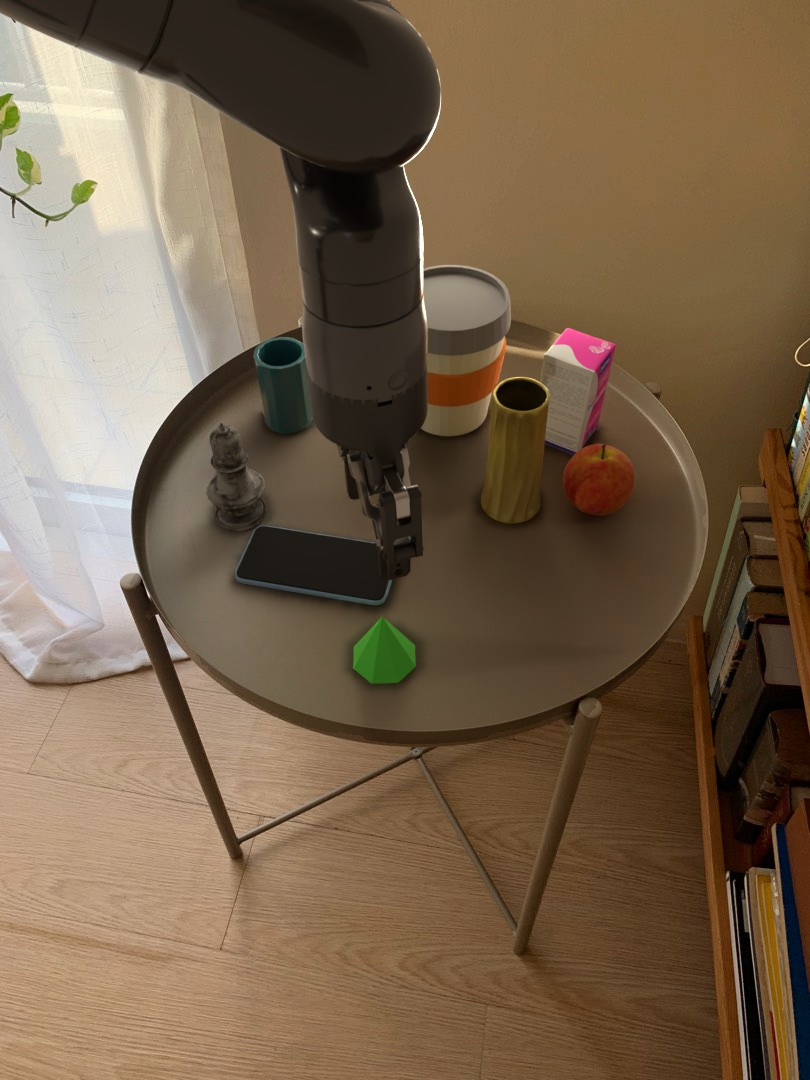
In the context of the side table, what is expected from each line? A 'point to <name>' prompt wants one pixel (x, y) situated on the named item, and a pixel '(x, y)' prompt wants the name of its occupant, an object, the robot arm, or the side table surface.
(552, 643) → the side table surface
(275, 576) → the smartphone
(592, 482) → the fruit
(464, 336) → the reusable coffee cup
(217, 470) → the chess piece
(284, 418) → the teal cup
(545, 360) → the supplement box
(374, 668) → the gemstone
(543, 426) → the vase
